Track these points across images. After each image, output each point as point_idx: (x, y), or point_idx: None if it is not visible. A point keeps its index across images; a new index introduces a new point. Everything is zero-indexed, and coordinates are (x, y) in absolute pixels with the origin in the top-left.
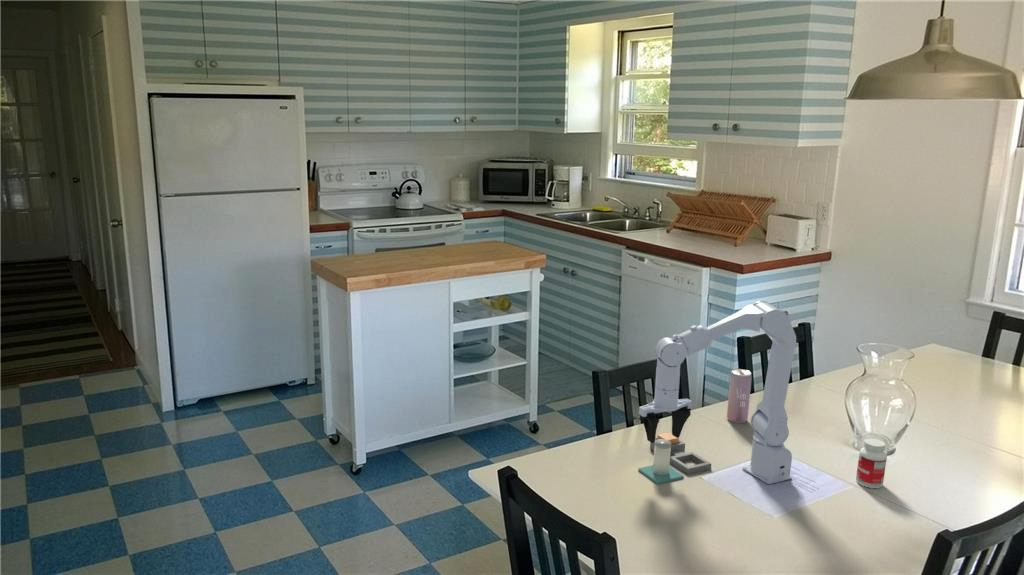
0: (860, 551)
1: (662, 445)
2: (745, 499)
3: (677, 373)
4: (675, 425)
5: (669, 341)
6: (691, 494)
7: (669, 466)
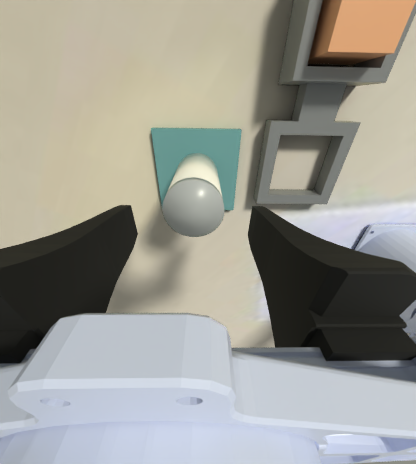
0: None
1: (176, 230)
2: None
3: None
4: (265, 247)
5: None
6: (201, 256)
7: (238, 156)
